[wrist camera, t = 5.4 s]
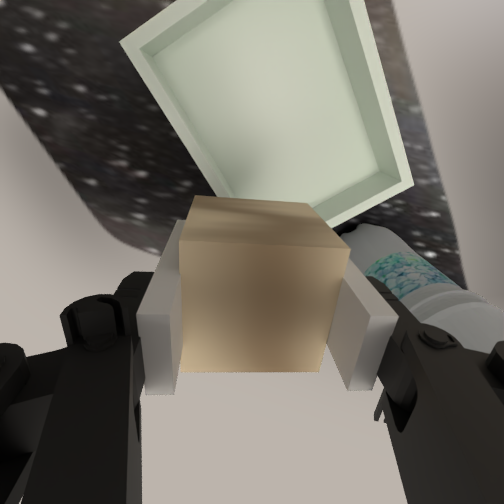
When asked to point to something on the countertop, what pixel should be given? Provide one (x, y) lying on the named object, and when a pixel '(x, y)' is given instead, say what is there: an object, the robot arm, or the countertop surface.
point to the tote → (277, 100)
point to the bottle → (425, 288)
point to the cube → (257, 285)
